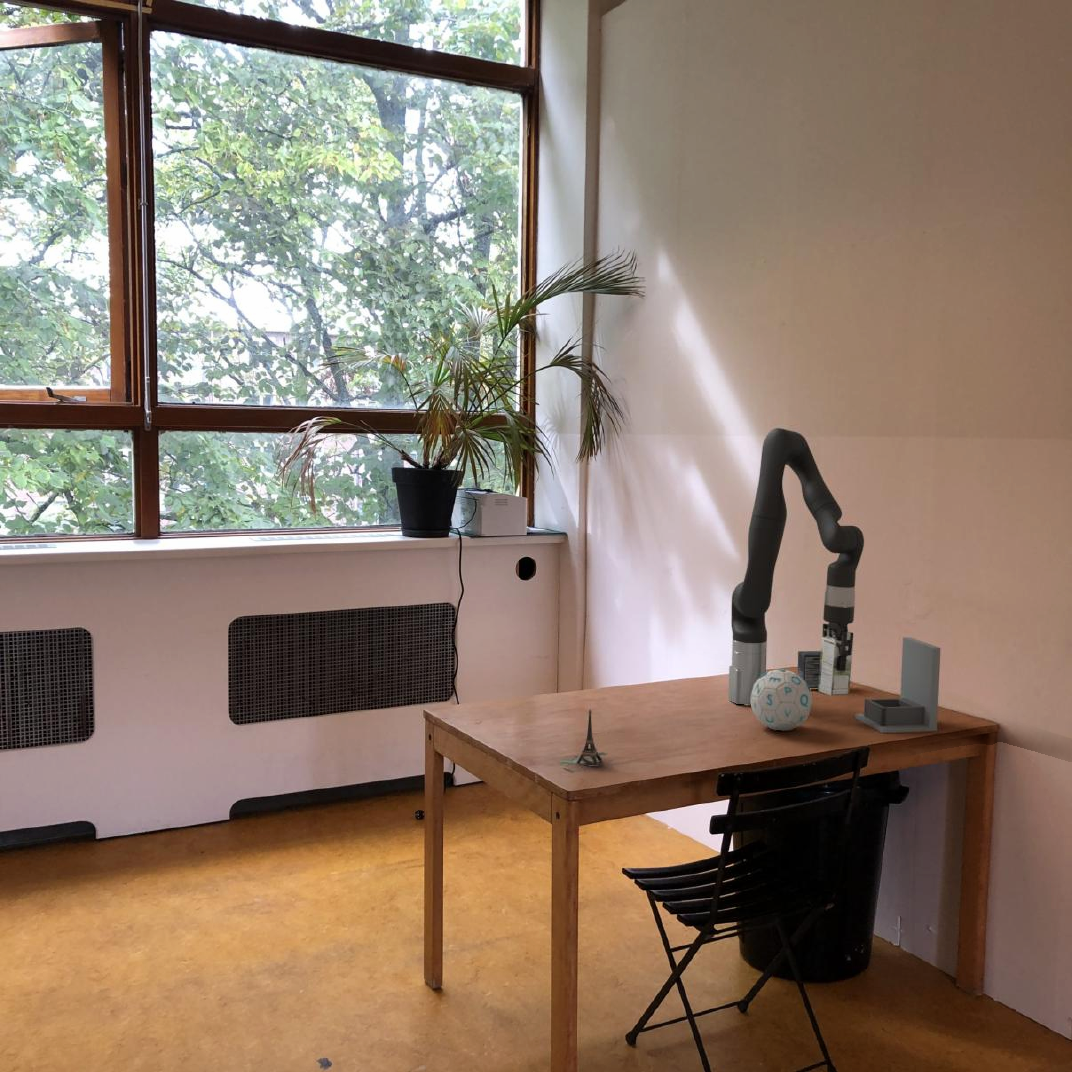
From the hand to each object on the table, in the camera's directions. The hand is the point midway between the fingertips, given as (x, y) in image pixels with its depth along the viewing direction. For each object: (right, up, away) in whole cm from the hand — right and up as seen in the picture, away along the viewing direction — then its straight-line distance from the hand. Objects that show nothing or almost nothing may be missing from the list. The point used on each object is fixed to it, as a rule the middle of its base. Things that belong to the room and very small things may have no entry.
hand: (835, 667), depth 280 cm
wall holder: (+15, -14, -2) cm, 21 cm away
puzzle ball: (-16, -15, -8) cm, 23 cm away
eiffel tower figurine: (-65, -17, -38) cm, 77 cm away
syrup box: (0, -7, +1) cm, 7 cm away
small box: (+5, -11, +39) cm, 41 cm away
